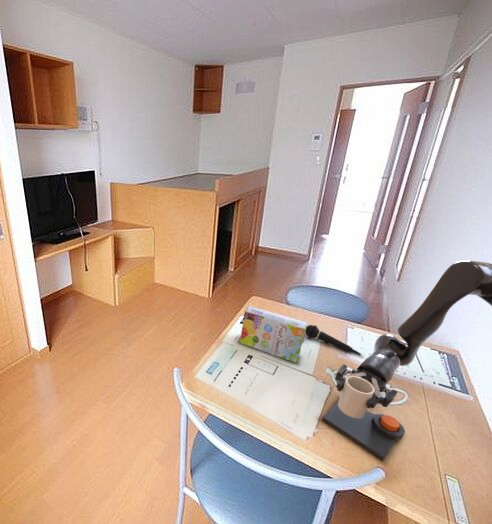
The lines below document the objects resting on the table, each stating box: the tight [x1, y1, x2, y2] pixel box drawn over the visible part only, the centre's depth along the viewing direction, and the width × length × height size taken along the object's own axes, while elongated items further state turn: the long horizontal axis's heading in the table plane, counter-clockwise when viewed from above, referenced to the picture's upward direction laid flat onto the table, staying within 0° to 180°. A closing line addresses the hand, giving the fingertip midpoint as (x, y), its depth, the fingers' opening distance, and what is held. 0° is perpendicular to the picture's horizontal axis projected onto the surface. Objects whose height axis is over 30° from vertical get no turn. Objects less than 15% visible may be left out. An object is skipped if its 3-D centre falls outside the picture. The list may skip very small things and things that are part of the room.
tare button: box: [380, 414, 401, 432], centre depth 84 cm, size 4×4×2 cm
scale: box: [321, 400, 406, 462], centre depth 86 cm, size 16×14×3 cm
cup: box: [337, 375, 375, 419], centre depth 85 cm, size 7×7×9 cm
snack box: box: [239, 305, 308, 364], centre depth 115 cm, size 21×6×15 cm, turn 56°
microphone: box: [305, 324, 362, 356], centre depth 120 cm, size 6×6×20 cm
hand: (353, 396), depth 83 cm, fingers closed on cup, 6 cm apart
